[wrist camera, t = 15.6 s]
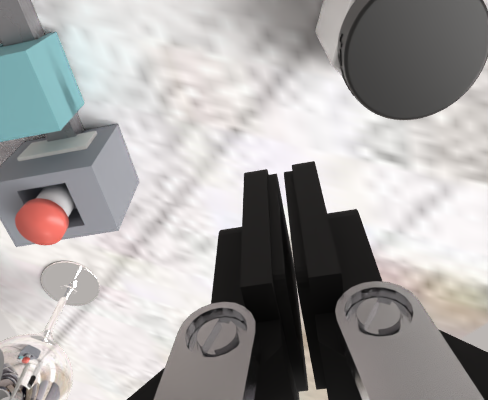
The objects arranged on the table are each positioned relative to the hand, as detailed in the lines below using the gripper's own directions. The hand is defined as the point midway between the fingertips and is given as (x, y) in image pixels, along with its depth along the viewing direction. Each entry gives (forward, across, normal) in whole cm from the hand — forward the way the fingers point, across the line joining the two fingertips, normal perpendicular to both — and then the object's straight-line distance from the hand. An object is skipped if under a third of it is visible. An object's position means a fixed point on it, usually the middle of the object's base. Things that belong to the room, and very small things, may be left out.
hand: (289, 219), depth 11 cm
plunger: (+24, +19, +10) cm, 32 cm away
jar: (+29, -8, +2) cm, 30 cm away
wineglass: (+29, +26, +24) cm, 46 cm away
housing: (+29, +19, +10) cm, 36 cm away
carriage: (+29, +19, +2) cm, 35 cm away
